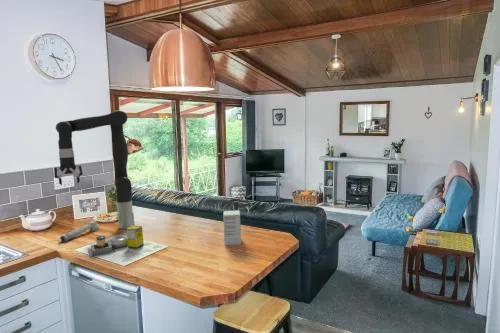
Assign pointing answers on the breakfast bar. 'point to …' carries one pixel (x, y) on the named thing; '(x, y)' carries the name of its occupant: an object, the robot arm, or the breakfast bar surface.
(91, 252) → the grey slotted holder
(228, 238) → the supplement box
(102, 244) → the tan grey cylinder
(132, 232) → the supplement box
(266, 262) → the breakfast bar surface
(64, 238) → the grey long rod
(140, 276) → the breakfast bar surface
